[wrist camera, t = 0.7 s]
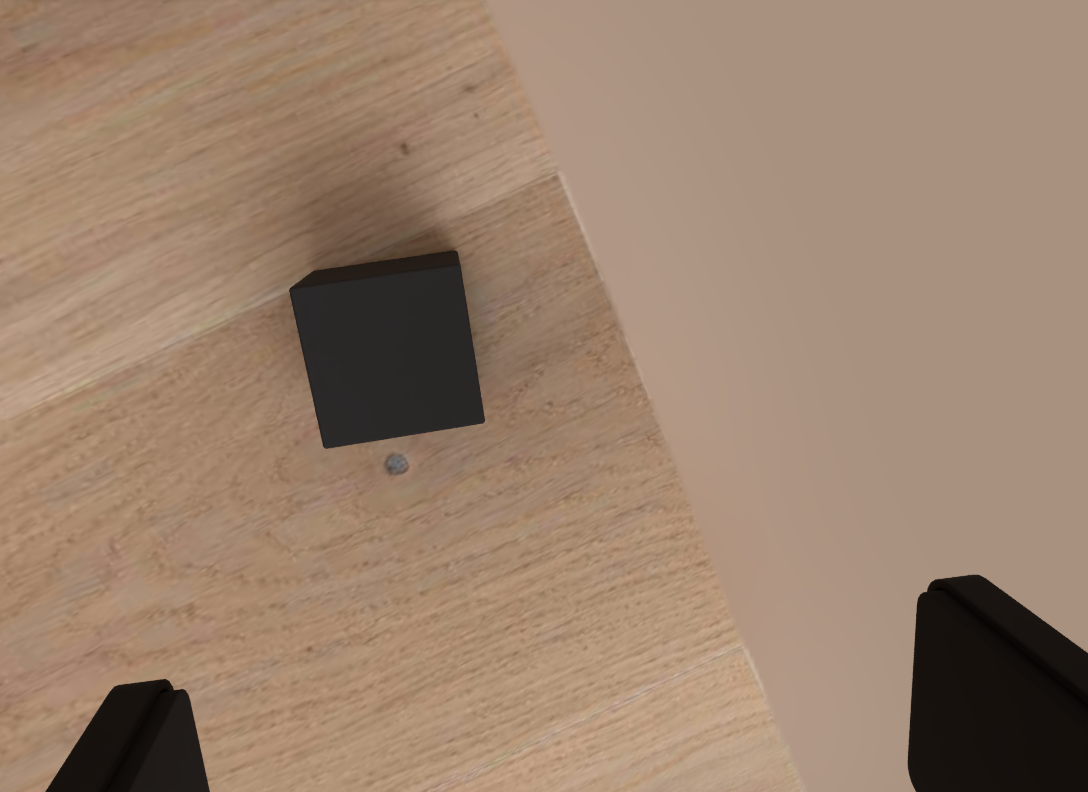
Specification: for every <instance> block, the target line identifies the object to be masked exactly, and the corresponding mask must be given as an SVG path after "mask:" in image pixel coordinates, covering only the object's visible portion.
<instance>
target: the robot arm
mask: <svg viewBox="0 0 1088 792" xmlns="http://www.w3.org/2000/svg"><path fill="white" fill-rule="evenodd" d="M908 770H909V775H910V779H911V782H912V784H913V786H914V789H915V791H916V792H1088V653H1087V652H1086V651H1084V650H1083V649H1081V648H1080V647H1079V646H1077V645H1076V644H1075V643H1073V642H1072V641H1070V640H1069V639H1068V638H1066V637H1065V636H1063V635H1062V634H1061V633H1060V632H1058V631H1057V630H1055V629H1054V628H1053V627H1051V626H1050V625H1049V624H1047V623H1046V622H1045V621H1043V620H1042V619H1040V618H1039V617H1038V616H1036V615H1035V614H1034V613H1032V612H1031V611H1030V610H1028V609H1027V608H1025V607H1024V606H1023V605H1021V604H1020V603H1019V602H1017V601H1016V600H1014V599H1013V598H1012V597H1010V596H1009V595H1008V594H1006V593H1005V592H1004V591H1002V590H1001V589H999V588H998V587H997V586H995V585H994V584H992V583H991V582H990V581H989V580H987V579H986V578H984V577H982V576H980V575H968V576H960V577H952V578H945V579H937V580H934V581H932V582H931V583H930V585H929V587H928V590H927V592H924V593H922V594H920V596H919V598H918V602H917V613H916V630H915V647H914V663H913V682H912V698H911V714H910V731H909V749H908ZM46 792H210V791H209V786H208V781H207V777H206V772H205V767H204V763H203V758H202V753H201V749H200V744H199V739H198V735H197V730H196V726H195V721H194V716H193V712H192V707H191V702H190V699H189V695H188V693H187V692H186V690H184V689H180V690H174V689H173V686H172V685H171V683H170V681H168V680H166V679H162V680H154V681H146V682H138V683H131V684H123V685H118V686H115V687H114V688H113V689H112V690H111V691H110V692H109V694H108V695H107V697H106V699H105V700H104V702H103V703H102V705H101V706H100V708H99V709H98V711H97V713H96V714H95V716H94V717H93V719H92V720H91V722H90V723H89V725H88V726H87V728H86V730H85V731H84V733H83V734H82V736H81V737H80V739H79V740H78V742H77V744H76V745H75V747H74V748H73V750H72V751H71V753H70V754H69V756H68V758H67V759H66V761H65V762H64V764H63V765H62V767H61V768H60V770H59V771H58V773H57V775H56V776H55V778H54V779H53V781H52V782H51V784H50V785H49V787H48V789H47V790H46Z"/></svg>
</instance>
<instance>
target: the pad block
mask: <svg viewBox="0 0 1088 792" xmlns="http://www.w3.org/2000/svg"><path fill="white" fill-rule="evenodd" d="M289 292H290V296H291V301H292V305H293V310H294V315H295V319H296V324H297V328H298V333H299V337H300V342H301V347H302V351H303V356H304V360H305V365H306V370H307V374H308V379H309V383H310V388H311V392H312V397H313V402H314V406H315V411H316V415H317V420H318V425H319V429H320V434H321V438H322V443H323V447H324V448H326V449H328V448H334V447H340V446H346V445H353V444H359V443H365V442H371V441H377V440H383V439H390V438H396V437H402V436H408V435H414V434H420V433H427V432H433V431H439V430H445V429H451V428H458V427H464V426H470V425H476V424H482V423H484V422H485V417H484V411H483V405H482V398H481V392H480V386H479V379H478V373H477V367H476V360H475V354H474V348H473V342H472V335H471V329H470V323H469V316H468V310H467V304H466V297H465V291H464V285H463V278H462V272H461V266H460V261H459V257H458V253H457V251H449V252H442V253H435V254H428V255H421V256H414V257H407V258H400V259H393V260H386V261H379V262H372V263H365V264H358V265H351V266H344V267H337V268H330V269H323V270H316V271H313V272H311V273H310V274H309V275H307V276H306V277H305V278H303V279H302V280H300V281H299V282H298V283H296V284H295V285H294V286H292V287H291V288H290V290H289Z"/></svg>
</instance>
